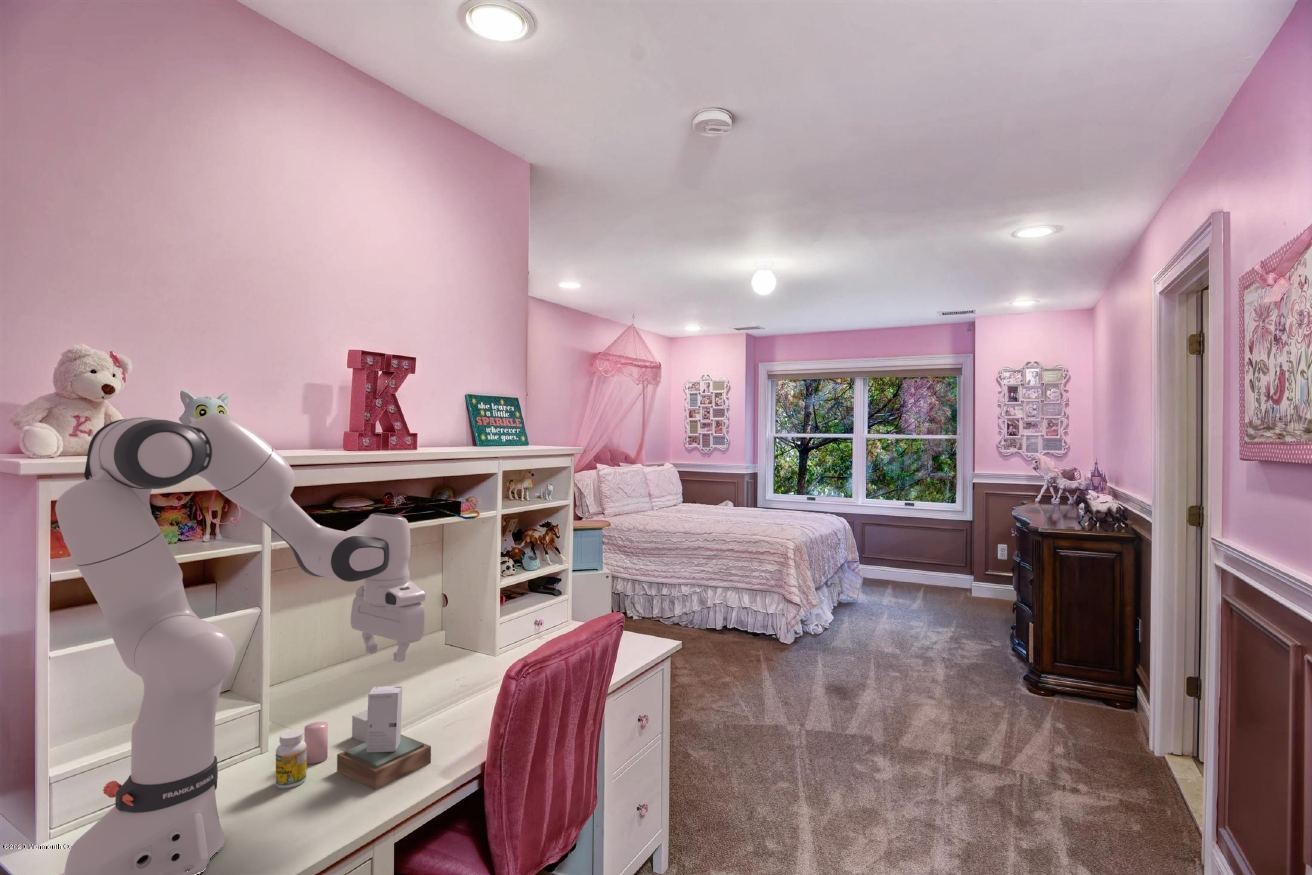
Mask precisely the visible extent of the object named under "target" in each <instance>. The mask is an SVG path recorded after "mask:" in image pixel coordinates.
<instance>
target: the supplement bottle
mask: <svg viewBox="0 0 1312 875" xmlns="http://www.w3.org/2000/svg"><path fill="white" fill-rule="evenodd" d="M303 735H304V734H303V731H302V730H301V729H292V730H287V731H285V732H282V733H281V734H280V735H279V746H277V747H276V750H275V786H276V787H277V788H279V789H290V788H291V789H292V788H295V787H297V786H300V785H301V784H303V783H304V782H306V779H307V769H308V768H307V761H306V757H307V749H306V743H305V742H304V740H303V739H304V736H303Z"/></svg>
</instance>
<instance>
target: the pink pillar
mask: <svg viewBox="0 0 1312 875" xmlns="http://www.w3.org/2000/svg"><path fill="white" fill-rule="evenodd" d="M328 724H329V723H328V722H326V721H315V722H311V723H308V724H307V725H305V726H304V729H303V730H304V734H303V735H304V736H303V739H304V740H303V741H304V742H305V743H306V749H307V757H306V761H307V764H309V765H311V764H318V763H321V762H323V761H326V760H327V759H328V757H329V756H328V755H329V754H328V751H329V749H328V748H329V746H328V745H329V744H328V743H329V742H328V734H329V732H328V727H329V726H328Z"/></svg>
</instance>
